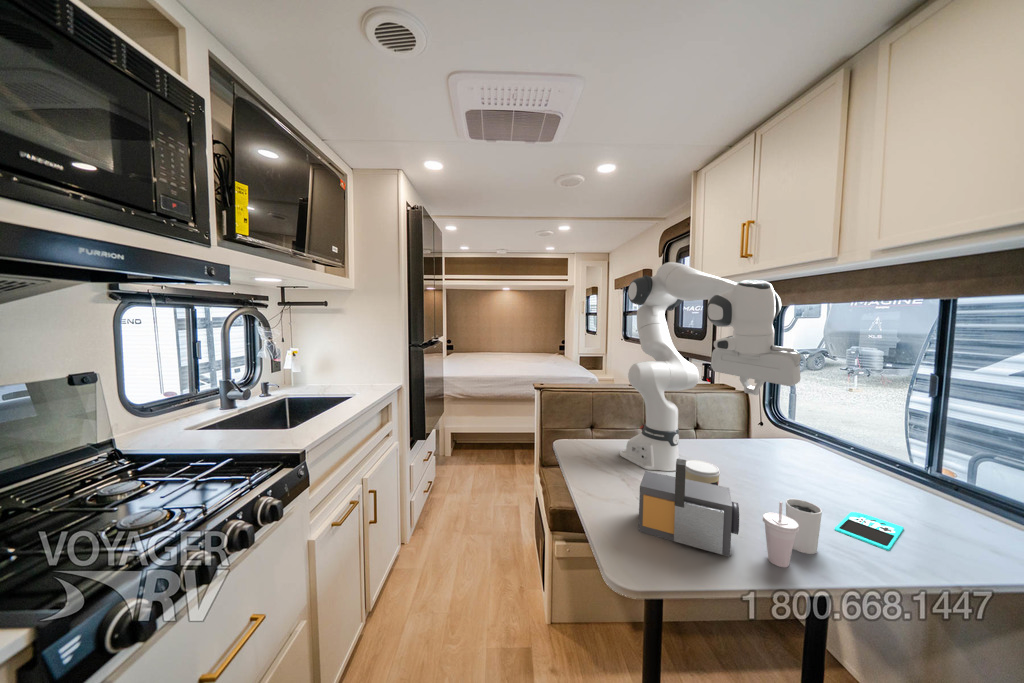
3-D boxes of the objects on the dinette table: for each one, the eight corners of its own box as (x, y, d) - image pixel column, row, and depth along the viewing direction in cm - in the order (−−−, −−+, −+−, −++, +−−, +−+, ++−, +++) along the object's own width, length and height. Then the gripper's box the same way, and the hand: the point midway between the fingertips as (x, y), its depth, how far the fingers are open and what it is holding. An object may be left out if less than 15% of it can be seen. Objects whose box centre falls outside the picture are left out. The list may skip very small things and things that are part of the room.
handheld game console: (905, 531, 90) (905, 526, 90) (890, 554, 81) (890, 548, 81) (852, 513, 98) (852, 509, 98) (833, 532, 90) (833, 527, 90)
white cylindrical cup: (786, 533, 88) (788, 495, 87) (821, 546, 83) (823, 506, 83) (781, 545, 84) (783, 505, 83) (817, 559, 79) (820, 517, 78)
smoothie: (758, 561, 78) (761, 501, 77) (763, 548, 82) (766, 491, 82) (794, 576, 73) (798, 512, 73) (798, 561, 78) (801, 501, 77)
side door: (673, 546, 81) (675, 463, 80) (674, 538, 85) (676, 458, 83) (722, 560, 77) (726, 473, 75) (721, 551, 80) (725, 467, 79)
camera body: (638, 532, 89) (639, 486, 88) (644, 512, 98) (645, 471, 97) (738, 560, 78) (740, 509, 78) (734, 535, 87) (736, 489, 87)
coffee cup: (720, 518, 95) (722, 475, 94) (682, 510, 99) (684, 469, 98) (716, 502, 103) (718, 462, 103) (681, 495, 107) (683, 457, 107)
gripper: (807, 346, 82) (804, 400, 85) (721, 337, 100) (720, 382, 103) (794, 351, 80) (791, 407, 82) (707, 341, 97) (707, 387, 100)
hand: (751, 393), depth 93 cm, fingers closed
